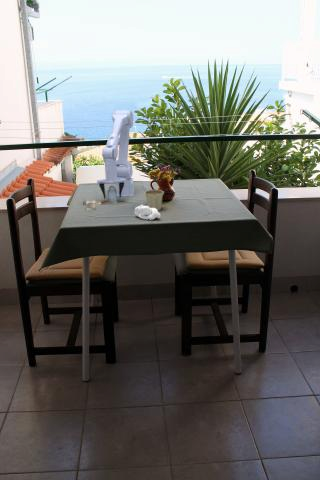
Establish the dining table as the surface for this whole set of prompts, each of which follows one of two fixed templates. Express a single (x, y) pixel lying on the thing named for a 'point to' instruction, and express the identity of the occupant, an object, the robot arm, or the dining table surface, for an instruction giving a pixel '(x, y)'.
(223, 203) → the dining table surface
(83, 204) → the track
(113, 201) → the pawn
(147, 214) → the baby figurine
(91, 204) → the die
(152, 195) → the flower pot
